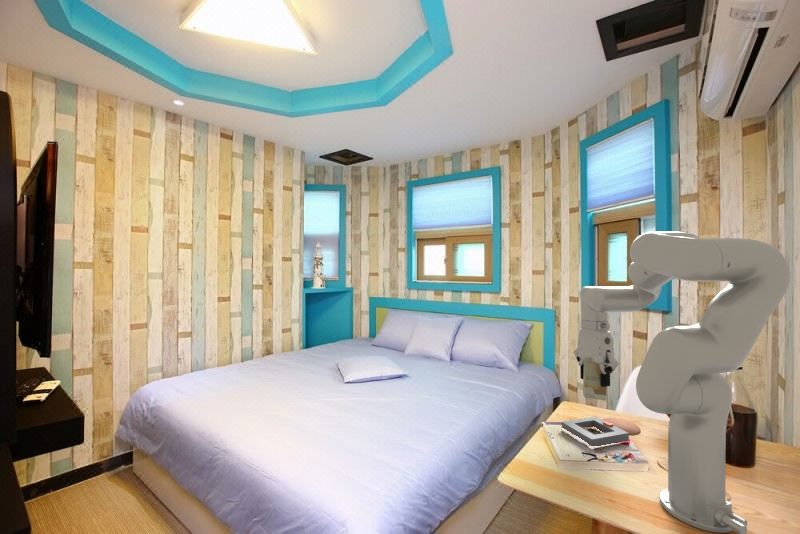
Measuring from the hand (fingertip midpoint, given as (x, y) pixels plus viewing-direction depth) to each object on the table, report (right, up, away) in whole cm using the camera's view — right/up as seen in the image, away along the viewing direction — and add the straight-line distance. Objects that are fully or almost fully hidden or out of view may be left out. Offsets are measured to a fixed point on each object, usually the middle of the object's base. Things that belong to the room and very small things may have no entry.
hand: (594, 381), depth 108 cm
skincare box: (0, -5, 0) cm, 5 cm away
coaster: (+13, -17, +7) cm, 23 cm away
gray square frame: (0, -17, 0) cm, 17 cm away
